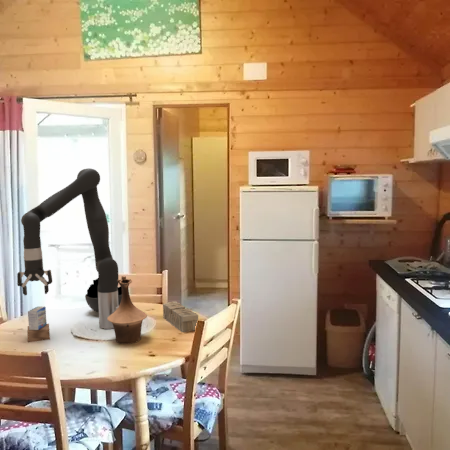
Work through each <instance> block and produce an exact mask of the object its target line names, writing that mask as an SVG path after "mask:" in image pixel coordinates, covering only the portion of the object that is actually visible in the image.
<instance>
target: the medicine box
mask: <svg viewBox="0 0 450 450" xmlns="http://www.w3.org/2000/svg"><path fill="white" fill-rule="evenodd" d="M27 318H28V320H27V321H28V326H29V330H39V329H41V328H42V327H44V326H46V325H47V324H48V323H47V309H46V306H36V307H33V308H32V309H29V310H28V311H27Z"/></svg>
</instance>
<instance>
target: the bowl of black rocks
mask: <svg viewBox="0 0 450 450" xmlns="http://www.w3.org/2000/svg"><path fill="white" fill-rule="evenodd" d="M98 284H99V279H98V278H96V279H93V280H92V283H91V284H89V286H88V288H87V291H86V293H87V294H85V296H84V298H85V301H86V305H88V306H89V308H90V309H92V311H94V312H96V313H98V314H99V304H98ZM121 299H122V287H121V286H120V285H119V286H118V305H120V303H121Z"/></svg>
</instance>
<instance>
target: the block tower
mask: <svg viewBox="0 0 450 450" xmlns="http://www.w3.org/2000/svg"><path fill="white" fill-rule="evenodd" d="M162 312H163V314H162V317H163V319H164V320H165V321H167V322H168V323H170V325H171V326H172V327H174V328H175V329H177V330H178V331H180V332H181V333H187V332H192V331H196V330H195V326H196V323H197V324H198V321H199V314H198V313H197V312H194V311H192V310H191V309H189V308H186V306H184V305H183V304H181V303H180V302H178V301H177V300H173V301H168V302H166V303H162Z"/></svg>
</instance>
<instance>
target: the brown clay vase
mask: <svg viewBox="0 0 450 450" xmlns="http://www.w3.org/2000/svg"><path fill="white" fill-rule="evenodd" d="M117 281H118V285H119V287H120V286H121V287H122V299H121V303H120V305H119V307H118V308H117V310H116V311H115V312H114V313H113V314H111V315H110V316H109V317H108V318H107V319H108V321H110V322H112V324H113V327H114V328H113V332H114V335H115V341H116V343H117V344H123V345H126V344H127V345H129V344H130V345H131V344H135V343H137V342H139V341H141V339H142V336H141V335H142V325H143V321H144V320H146V319H147V317H148V314H147V313H146V312H145V311H143V310H141V309H140V308H138V307H137V306H135V304H134V303H133V301H132V299H131V297H130V289H129V288H130V287H129V286H130V284H132V283H133V280H132V279H130V278H127V277H126V275H121V279H118V280H117Z"/></svg>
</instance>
